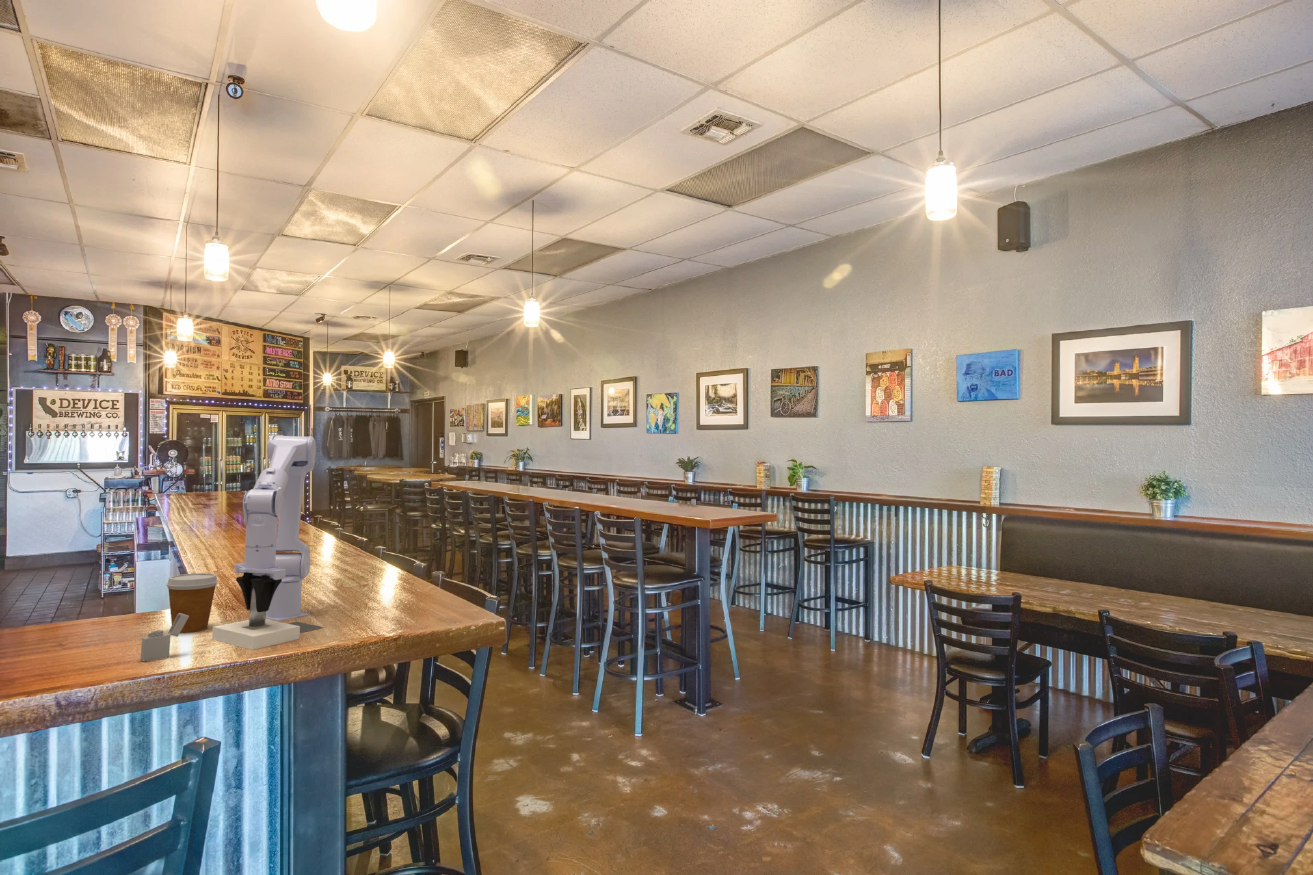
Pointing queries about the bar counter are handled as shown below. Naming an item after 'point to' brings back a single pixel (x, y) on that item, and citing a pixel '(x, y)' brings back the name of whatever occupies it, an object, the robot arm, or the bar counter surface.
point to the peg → (255, 612)
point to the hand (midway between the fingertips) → (257, 610)
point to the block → (255, 634)
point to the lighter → (161, 640)
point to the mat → (305, 626)
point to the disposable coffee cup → (192, 599)
